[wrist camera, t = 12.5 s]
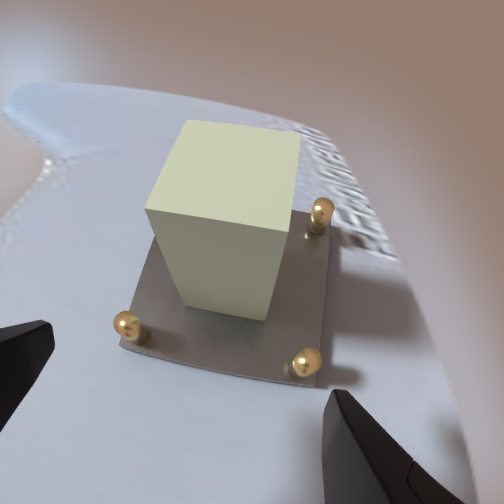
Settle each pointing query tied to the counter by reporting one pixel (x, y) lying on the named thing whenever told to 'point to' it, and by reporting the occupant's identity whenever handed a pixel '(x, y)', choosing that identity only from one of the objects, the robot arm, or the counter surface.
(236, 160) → the sage block
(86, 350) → the counter surface
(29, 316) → the counter surface
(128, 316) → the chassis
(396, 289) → the counter surface
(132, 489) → the counter surface
